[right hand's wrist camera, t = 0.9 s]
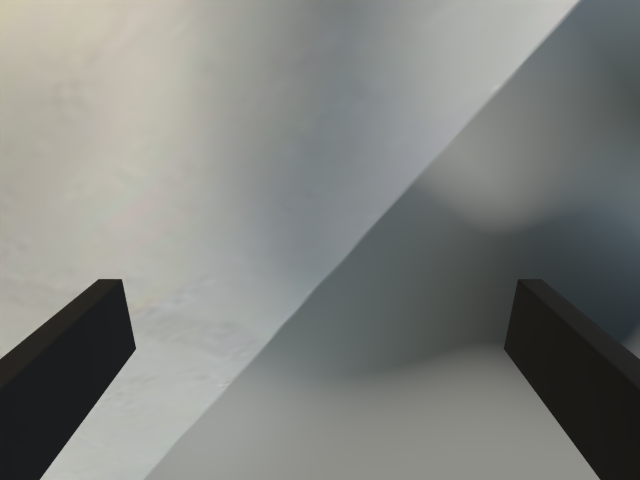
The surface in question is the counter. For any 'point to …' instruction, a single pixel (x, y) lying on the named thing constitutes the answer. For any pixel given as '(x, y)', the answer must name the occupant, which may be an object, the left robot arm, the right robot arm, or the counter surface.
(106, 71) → the counter surface
